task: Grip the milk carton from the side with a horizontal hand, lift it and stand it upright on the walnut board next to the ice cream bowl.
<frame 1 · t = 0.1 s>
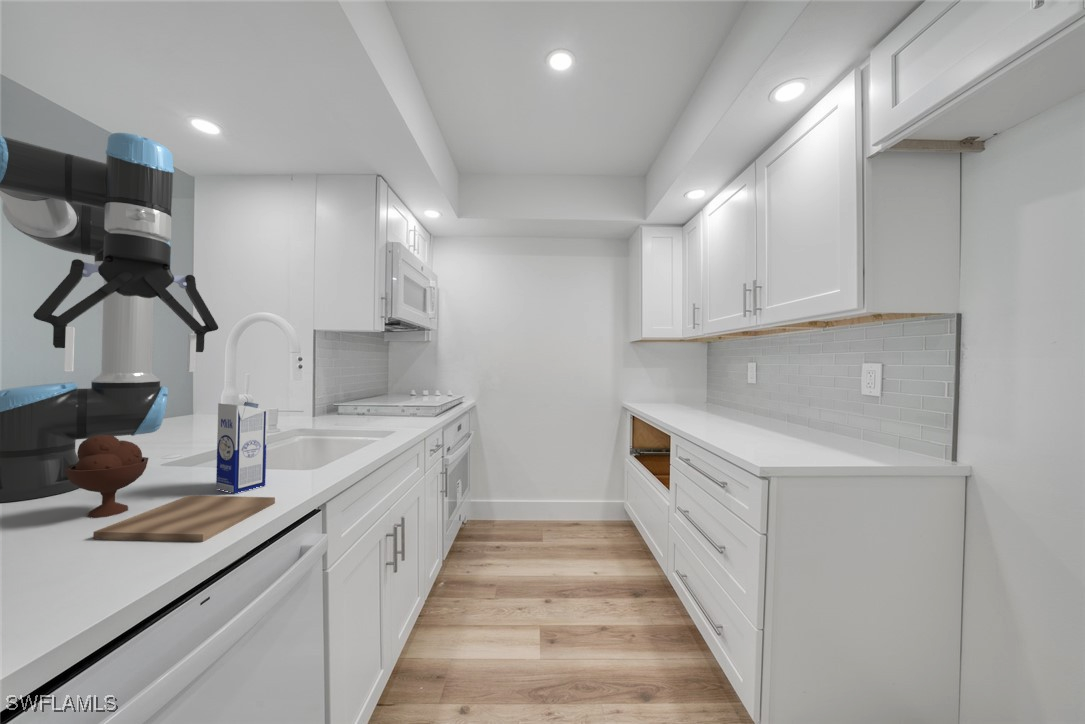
hand: (134, 371, 64), 28 cm above the countertop, tool pointing down, fingers open, 13 cm apart
walnut board: (195, 518, 75), on the countertop
ice cream bowl: (108, 513, 77), on the countertop
milk carton: (241, 488, 93), on the countertop
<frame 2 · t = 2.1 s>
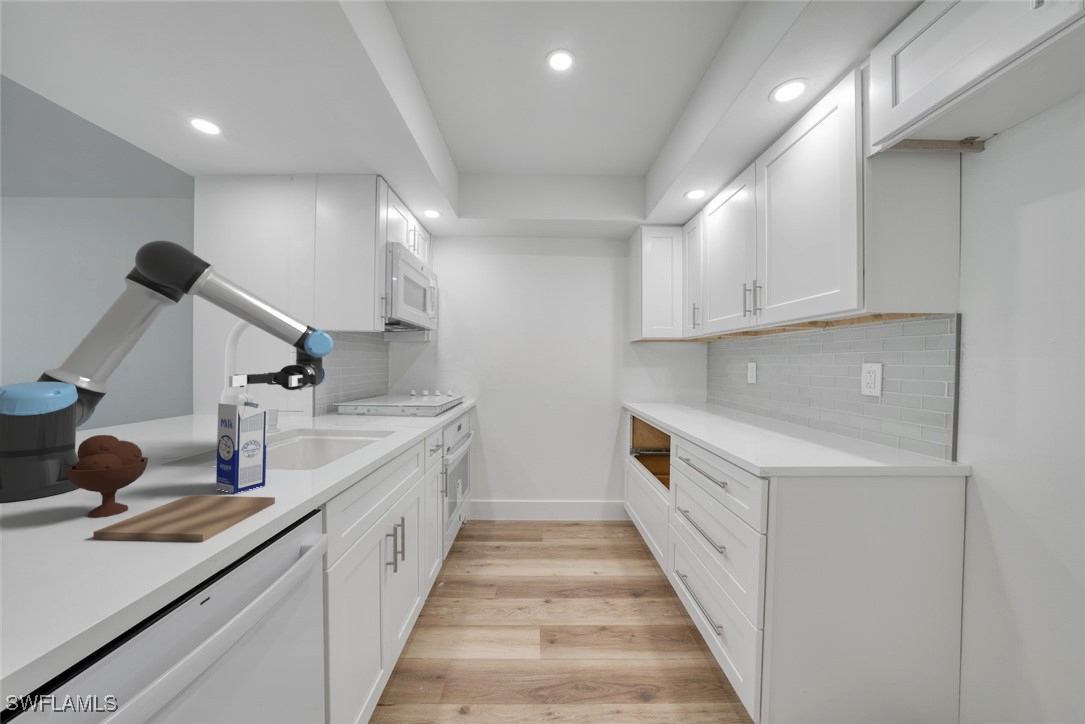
hand: (260, 381, 102), 24 cm above the countertop, tool horizontal, fingers open, 13 cm apart
nothing on the countertop moved.
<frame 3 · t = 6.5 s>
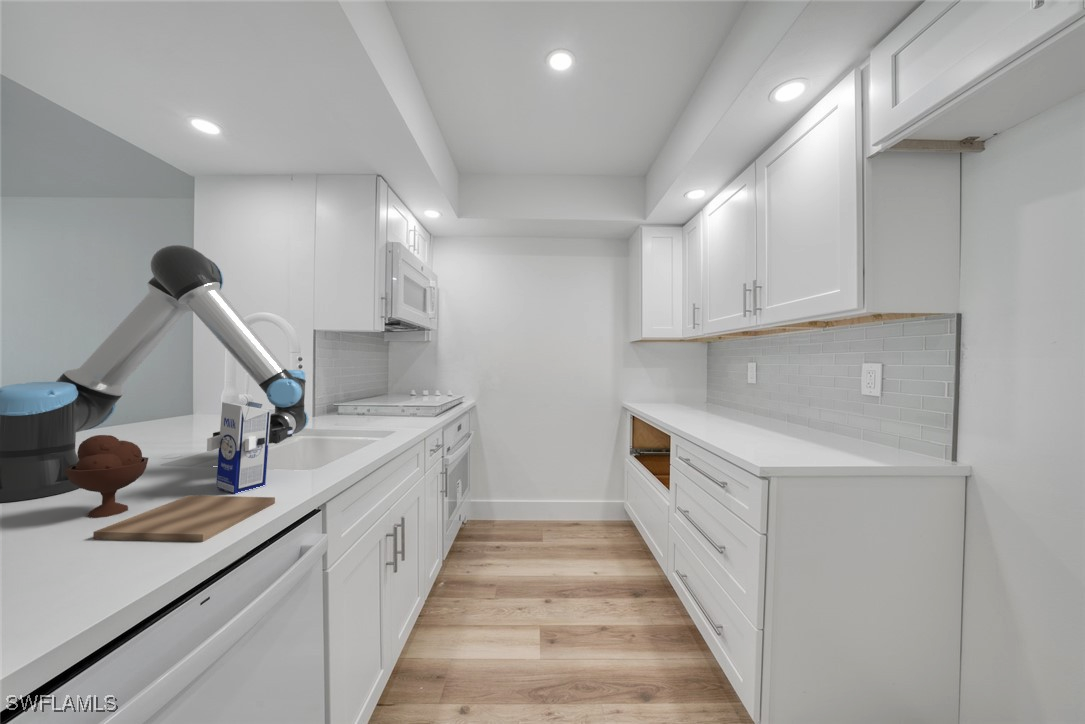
hand: (228, 444, 88), 11 cm above the countertop, tool horizontal, fingers open, 7 cm apart
milk carton: (241, 487, 93), on the countertop, touching gripper
everything else where it was.
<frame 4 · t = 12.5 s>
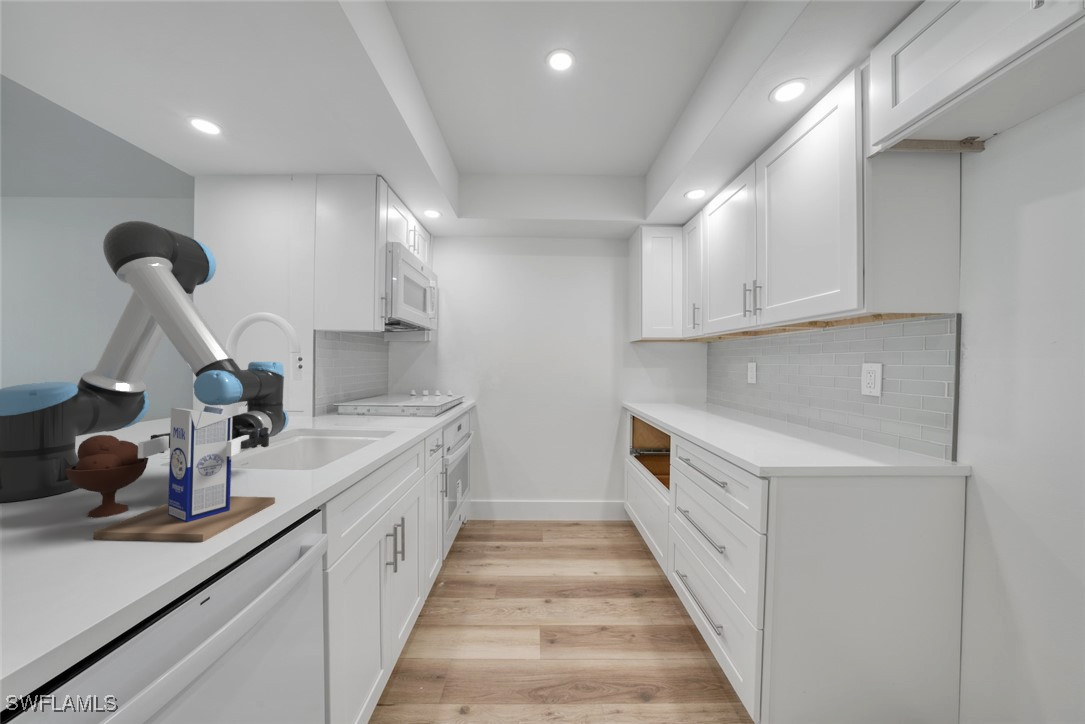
hand: (185, 449, 72), 14 cm above the countertop, tool horizontal, fingers open, 13 cm apart
milk carton: (199, 513, 75), point 1 cm above the countertop, touching walnut board
everything else where it was.
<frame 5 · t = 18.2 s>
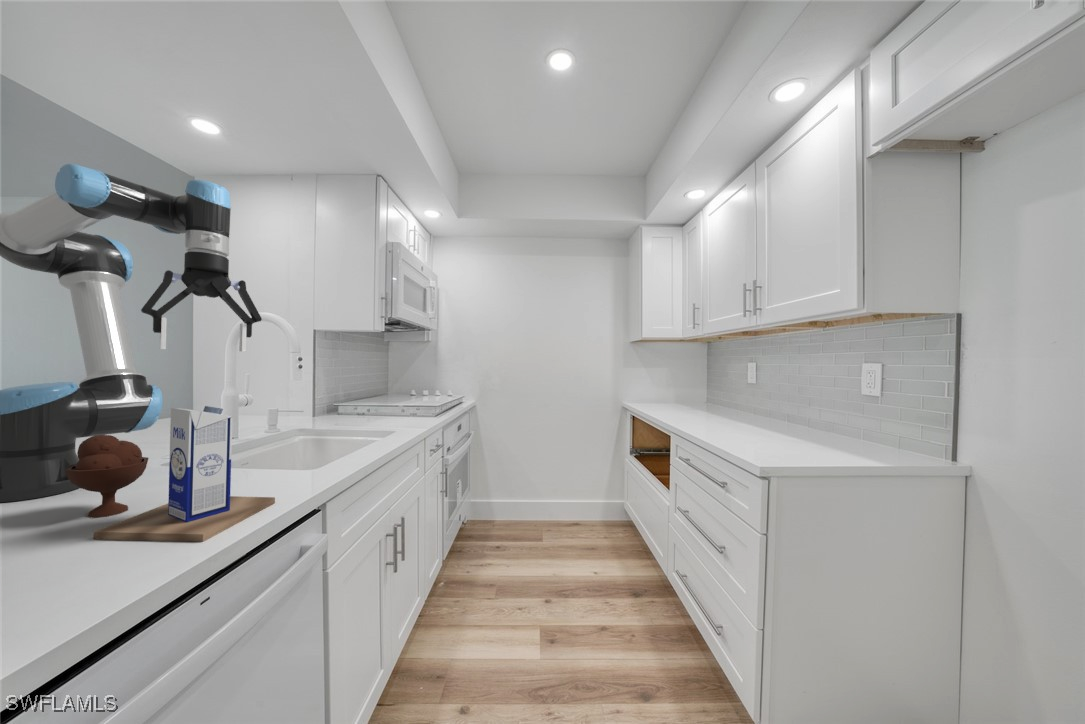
hand: (204, 350, 89), 32 cm above the countertop, tool pointing down, fingers open, 13 cm apart
nothing on the countertop moved.
at the end: milk carton inside the target area on the walnut board (0.9 cm from its centre), point 1.0 cm above the walnut board's base; milk carton tilted 0°; the gripper is holding nothing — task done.
